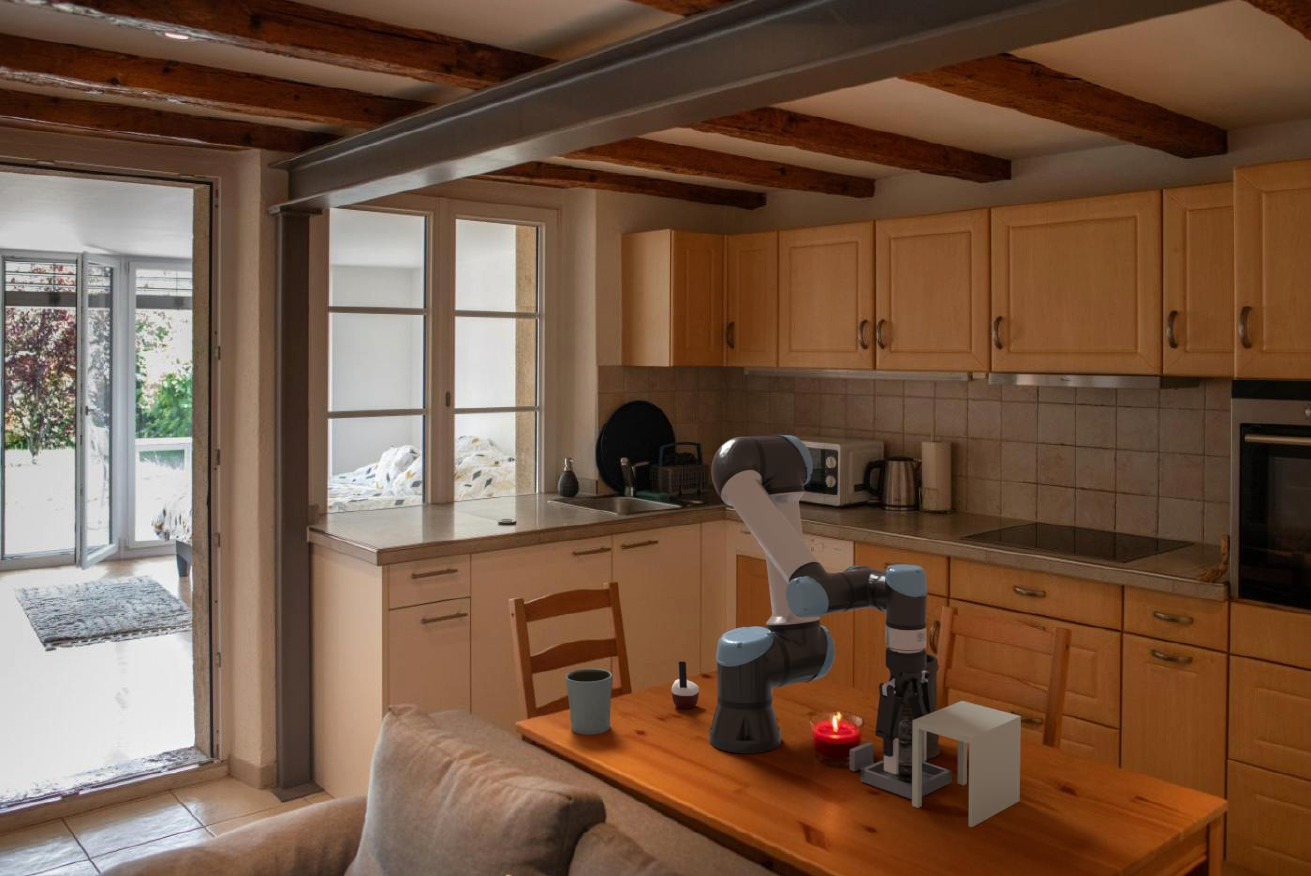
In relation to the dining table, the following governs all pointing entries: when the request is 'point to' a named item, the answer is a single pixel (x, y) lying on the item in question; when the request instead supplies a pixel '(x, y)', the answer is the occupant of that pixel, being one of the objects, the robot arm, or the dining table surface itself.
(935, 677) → the beer stein
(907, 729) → the dark grey tall piece
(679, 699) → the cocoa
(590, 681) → the grey-blue cup
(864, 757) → the tray
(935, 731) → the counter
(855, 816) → the dining table surface
